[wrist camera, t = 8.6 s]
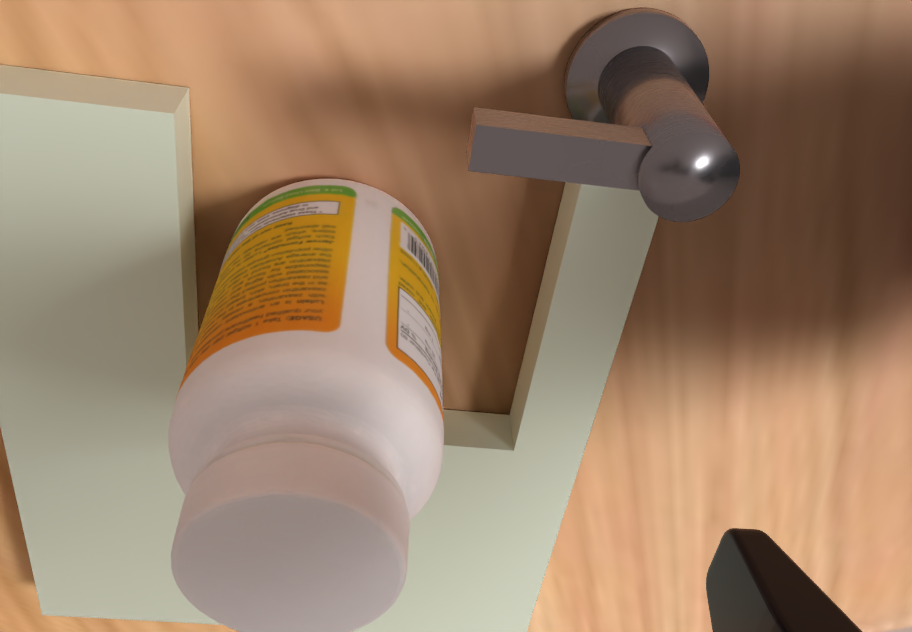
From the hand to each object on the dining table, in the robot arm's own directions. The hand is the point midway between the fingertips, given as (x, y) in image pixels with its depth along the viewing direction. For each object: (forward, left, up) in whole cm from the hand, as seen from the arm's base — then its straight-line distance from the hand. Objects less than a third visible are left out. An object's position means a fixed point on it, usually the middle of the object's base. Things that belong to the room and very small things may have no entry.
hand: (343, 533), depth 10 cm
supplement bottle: (+1, +4, -13) cm, 13 cm away
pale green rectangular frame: (+1, +9, -12) cm, 15 cm away
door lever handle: (-4, -2, -12) cm, 13 cm away
